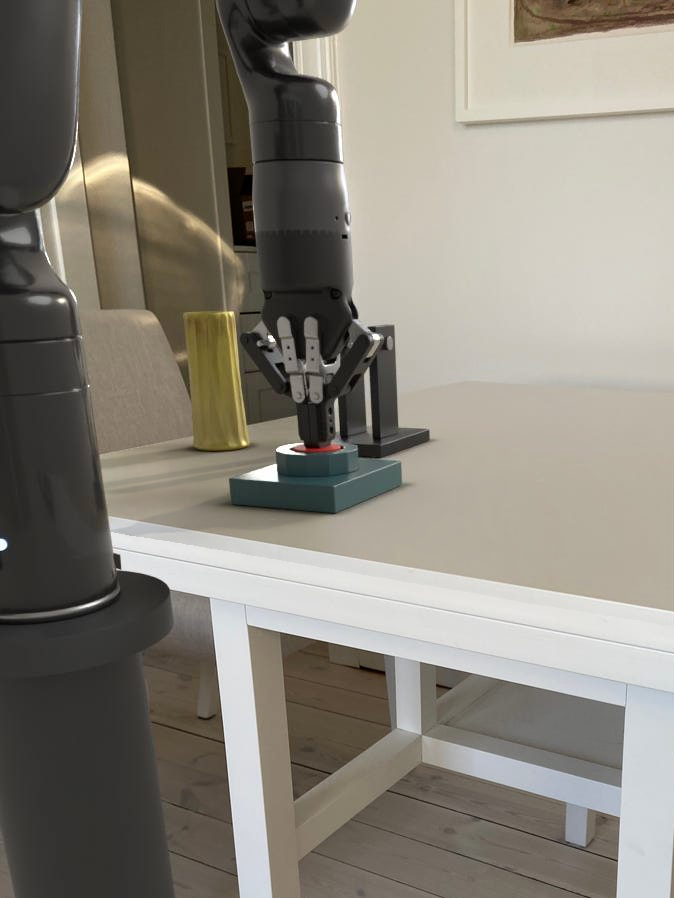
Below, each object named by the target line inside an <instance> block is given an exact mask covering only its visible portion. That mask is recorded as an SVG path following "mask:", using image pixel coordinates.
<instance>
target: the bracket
mask: <svg viewBox="0 0 674 898" xmlns="http://www.w3.org/2000/svg"><path fill="white" fill-rule="evenodd" d="M366 327H367V328H368V329H369V330H370V331H371V332H373V333H375V332H379V333H381V334H382V336H383V338H384V343H383V345H382V347H381V348H380V350H379V352H378V353H377V355H376V356H375V358H374V359H373V361H372V363H371V364H370V366H369V367H368V372H369V373H368V374H369V393H370V395H369V396H370V417H371V425H367V424H368V423H367V408H366V407H367V406H366V386H365V374H364V375H363V377H362V379H361V380H360V382H359V383H358V385H357V387H356V388H355V390H354V391H353V392H352V393H349V394H345V395H342V396H340V397H338V398H337V407H338V408H337V409H338V420H339V421H338V426H339V431H336V435H335V438H334V439H333V440H332V442H344V443H350V444H354V445H357V447H358V457H361V458H363V457H364V458H377V459H378V458H380V459H381V458H384V457H387V456H389V455H392V454H395V453H398V452H401V451H403V450H406V449H410V448H412V447H415V446H418V445H420V444H423V443H426V442H429V441H430V440H431V438H430V437H431V435H430V428H419V427H418V428H417V427H399V408H398V407H399V405H398V382H397V380H398V378H397V357H396V353H397V352H396V332H395V331H396V330H395V324H379V325H378V324H377V325H370V326H366ZM348 341H349V338H348V340H347V342H346V344H345V346H344V347H343V349H342V351H344V350H345V349H346V348H348V346H347V344H348ZM342 351H341V352H342ZM341 352H340V353H341Z"/></svg>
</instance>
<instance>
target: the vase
mask: <svg viewBox="0 0 674 898" xmlns="http://www.w3.org/2000/svg"><path fill="white" fill-rule="evenodd" d="M182 315H183V324H184V325H183V327H184V335H185V345H186V354H187V356H186V357H187V366H188V367H187V368H188V378H189V390H190V391H189V393H190V403H191V420H192V431H193V442H192V445H193V448H194V449H195V450H199V451H207V452H223V451H233V450H240V449H244V448H247V447H249V446H250V445H251V440H250V438H249V437H250V436H249V431H248V425H247V419H246V410H245V403H244V398H243V397H244V396H243V390H242V380H241V379H242V378H241V372H240V357H239V348H238V337H237V325H236V316H235V312H234V311H229V310H227V311H225V310H222V311H221V310H219V311H212V310H211V311H188V312H187V311H185V312H183V314H182Z"/></svg>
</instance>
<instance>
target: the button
mask: <svg viewBox="0 0 674 898" xmlns="http://www.w3.org/2000/svg"><path fill="white" fill-rule="evenodd" d="M338 450H341V447H340V445H337V444H332V443H331V445H330V446H327V447H324V448H306V447H305V446H304V444H302V445H298V446H295V447H294V448H293V451H294V452H303V453H321V452H331V451H338Z"/></svg>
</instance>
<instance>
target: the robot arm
mask: <svg viewBox="0 0 674 898" xmlns="http://www.w3.org/2000/svg"><path fill="white" fill-rule="evenodd" d="M357 3H358V0H215V4H216V5H215V6H216V10H217V14H218V17H219V21H220V24H221V27H222V30H223V33H224V37H225V39H226V42H227V45H228V48H229V51H230V55H231V58H232V61H233V64H234V68H235V71H236V74H237V77H238V78H237V79H238V80H239V82H240V86H241V90H242V92H243V95H244V99H245V102H246V106H247V110H248V124H249V138H250V149H251V159H252V160H251V161H252V164H253V165H252V190H251V192H252V193H251V194H252V196H251V197H252V211H253V212H252V213H253V223H254V233H255V247H256V256H257V269H258V281H259V286H260V288H261V290H262V292H263V297H264V298H263V304H262V307H261V309H260V319H261V320H260V321H259V322H258V323H257V325H256V326H255V327H254V328H253V329H251V331H246V332H242V333H241V334H240V337H239V342H240V344H241V346H242V347H243V349H244V350H245V352H246V353H247V355H248V356H249V357H250V359H251V360H252V361H253V363H254V364H255V365H256V367H257V368H258V370H259V371H260V372H261V374H262V376H263V377H264V378H265V379H266V381H267V382H268V384H269V385H270V386H271V388H272V389H273V391H274V392H275V393H276V394H278V395H284V396H287V397H289V398H291V399H292V400H293V401H294V403H295V405H296V418H297V431H298V436H299V439H300V441H303V443H304V446H305V447H306V448H324V447H327V446H330V445H331V442H332V440H333V439H334V438H335V435H336V432H337V429H336V428H337V427H336V413H335V403H336V400H338V397H340V396H342V395H345V394H349V393H352V392H353V391H354V390H355V388H356V387H357V385H358V383H359V382H360V380H361V379H362V377H363V375H364V376H365V374H366V372H367V371H368V370H369V366H370V364H371V363H372V361H373V359H374V358H375V356H376V355H377V353H378V352H379V350H380V348H381V347H382V345H383V343H384V338H383V336H382V334H381V333H379V332H375V333H373V332H371V331H370V330H369V329H368V328H367V327H368V326H366V325H365V324H363V322H362V321H360V320H359V318H360V317H359V316H360V315H359V314H360V313H359V310H358V307H357V306H356V303H355V301H354V298H353V290H354V281H355V280H354V265H353V263H354V262H353V249H352V247H353V246H352V230H351V227H352V226H351V223H352V214H351V211H350V210H351V209H350V208H351V207H350V196H349V190H348V184H347V178H346V172H345V171H346V170H345V165H344V163H345V160H344V159H345V158H344V143H343V126H342V111H341V110H342V109H341V102H340V97H339V94H338V91H337V89H336V87H335V86H334V85H333V84H332V83H331V82H329V81H328V80H326V79H324V78H321V77H319V76H314V75H308V74H301V73H298V70H297V68H296V66H295V64H294V61H293V59H292V56H291V51H290V47H289V45H290V44H289V43H295V42H302V41H310V40H317V39H323V38H329V37H332V36H335V35H338V34H340V33H342V32H343V31H344V30H345V29H347V28H348V26H349V25H350V24H351V21H352V19H353V17H354V15H355V12H356V9H357ZM83 4H84V0H0V624H13V625H20V624H38V623H48V622H55V621H61V620H67V619H71V618H76V617H80V616H83V615H87V614H90V613H94V612H96V611H99V610H101V609H104V608H106V607H108V606H110V605H111V604H113V603H115V602H116V601H117V600H118V599H119V598H120V596H121V592H120V585H119V582H118V581H117V570H121V571H122V559H121V558H122V557H121V554H120V553H116V552H114V549H113V548H114V547H113V540H112V534H111V526H110V519H109V513H108V506H107V505H108V504H107V498H106V491H105V484H104V477H103V471H102V463H101V457H100V451H99V450H100V449H99V442H98V435H97V429H96V422H95V421H96V420H95V415H94V407H93V401H92V394H91V388H90V387H91V386H90V381H89V380H90V378H89V373H88V365H87V359H86V353H85V352H86V351H85V345H84V337H83V336H82V335H83V332H82V331H83V330H82V325H81V317H80V312H79V311H80V310H79V306H78V301H77V298H76V296H75V294H74V292H73V291H72V289H71V288H70V287H69V286H68V285H67V284H66V283H65V282H64V281H63V280H62V279H61V278H60V277H59V275H58V274H57V273H56V271H55V269H54V268H53V266H52V264H51V262H50V259H49V257H48V254H47V252H46V248H45V243H44V238H43V234H42V233H43V232H42V228H41V223H40V218H39V212H38V209H40V208H42V207H44V206H45V205H46V204H48V203H49V202H51V200H52V199H54V198H55V197H56V195H57V194H58V193H59V191H60V190H61V189H62V187H63V186H64V184H65V183H66V181H67V179H68V177H69V174H70V171H71V169H72V166H73V163H74V161H75V160H74V159H75V153H76V148H77V138H78V127H79V109H80V108H79V106H80V105H79V104H80V72H81V48H82V46H81V45H82V21H83V20H82V19H83ZM349 336H350V338H349ZM348 338H349V341H348V344H347V346H348V348H349V349H350V350H349V352H348V354H347V355H346V357H345V359H344V360H343V362H342V364H341V365H340V352H341V351H342V349H343V347H344V346H345V344H346V342H347V340H348ZM276 345H277V346H278V348H279V349H278V348H277V346H276ZM280 350H281V352H282V353H281V352H280ZM301 360H302V361H301Z"/></svg>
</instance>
